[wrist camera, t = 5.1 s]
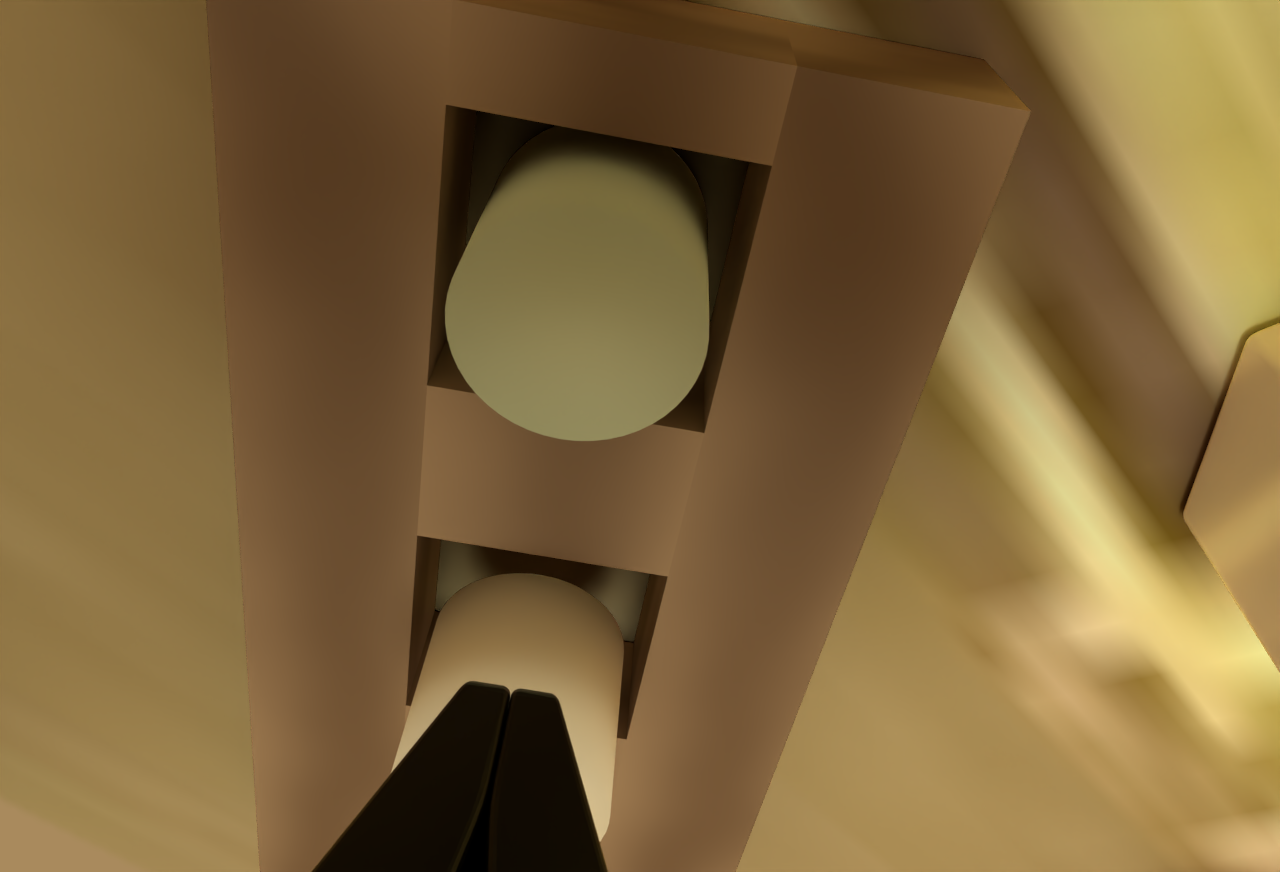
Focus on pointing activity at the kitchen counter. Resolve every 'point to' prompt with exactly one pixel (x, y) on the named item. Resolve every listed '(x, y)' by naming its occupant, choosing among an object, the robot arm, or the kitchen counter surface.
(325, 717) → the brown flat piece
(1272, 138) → the kitchen counter surface
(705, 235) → the green button
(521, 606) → the cream button
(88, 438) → the kitchen counter surface
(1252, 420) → the jar
